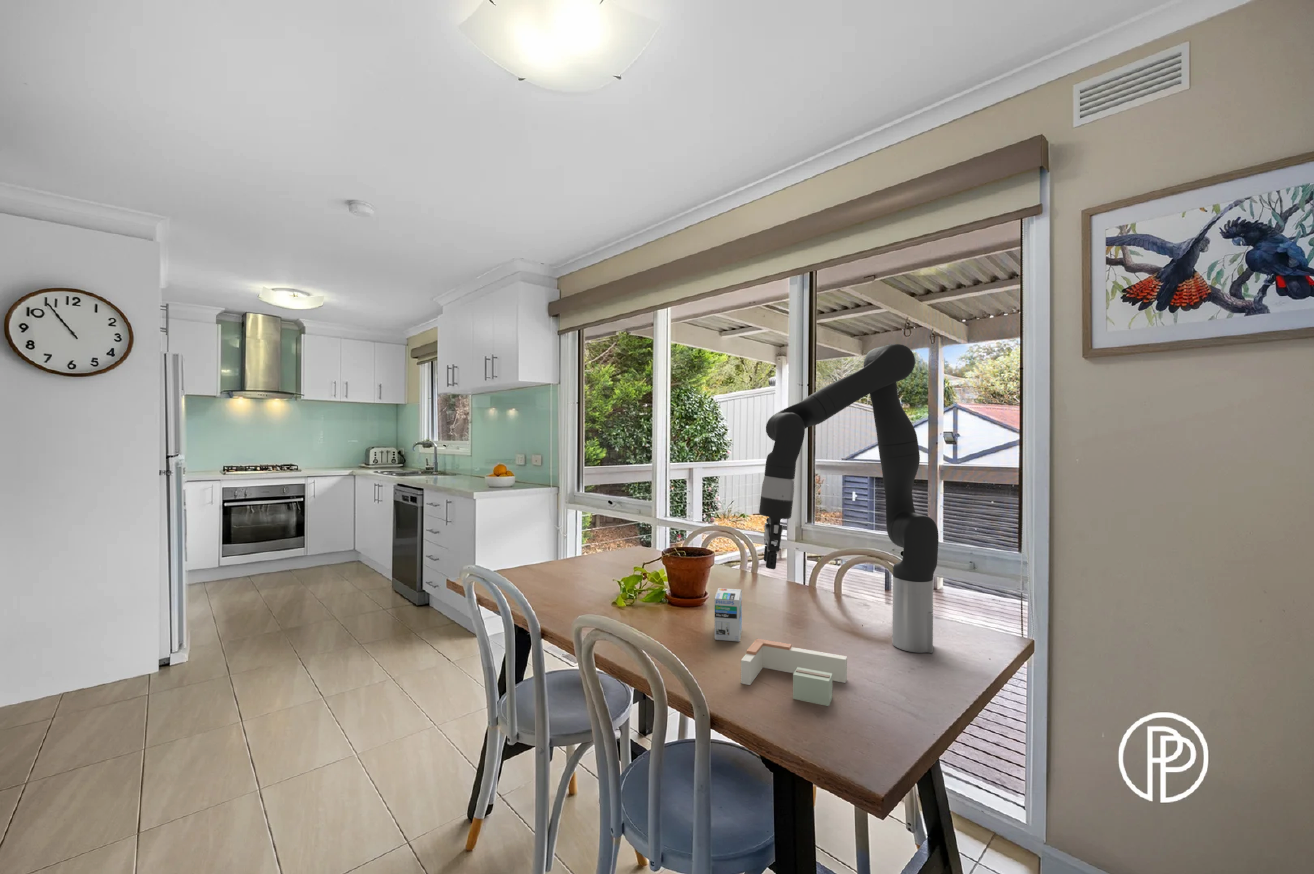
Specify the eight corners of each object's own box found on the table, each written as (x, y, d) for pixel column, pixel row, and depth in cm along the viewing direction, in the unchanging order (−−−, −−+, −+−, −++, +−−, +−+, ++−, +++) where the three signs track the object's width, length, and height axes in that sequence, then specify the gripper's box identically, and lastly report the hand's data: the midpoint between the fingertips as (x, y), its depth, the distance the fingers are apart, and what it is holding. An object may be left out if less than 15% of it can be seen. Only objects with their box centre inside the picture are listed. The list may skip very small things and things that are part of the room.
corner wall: (847, 679, 124) (847, 653, 123) (838, 703, 113) (838, 674, 113) (756, 662, 132) (756, 638, 132) (740, 683, 122) (740, 656, 121)
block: (832, 697, 115) (832, 672, 115) (828, 706, 112) (829, 680, 112) (797, 690, 118) (797, 666, 118) (793, 699, 115) (793, 673, 115)
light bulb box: (740, 642, 145) (740, 600, 145) (713, 640, 146) (713, 598, 146) (742, 628, 156) (742, 588, 155) (717, 626, 157) (717, 587, 157)
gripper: (796, 501, 128) (788, 573, 127) (789, 496, 142) (782, 561, 141) (762, 497, 128) (754, 568, 128) (759, 492, 143) (751, 557, 142)
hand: (769, 564), depth 135 cm, fingers open, 8 cm apart
